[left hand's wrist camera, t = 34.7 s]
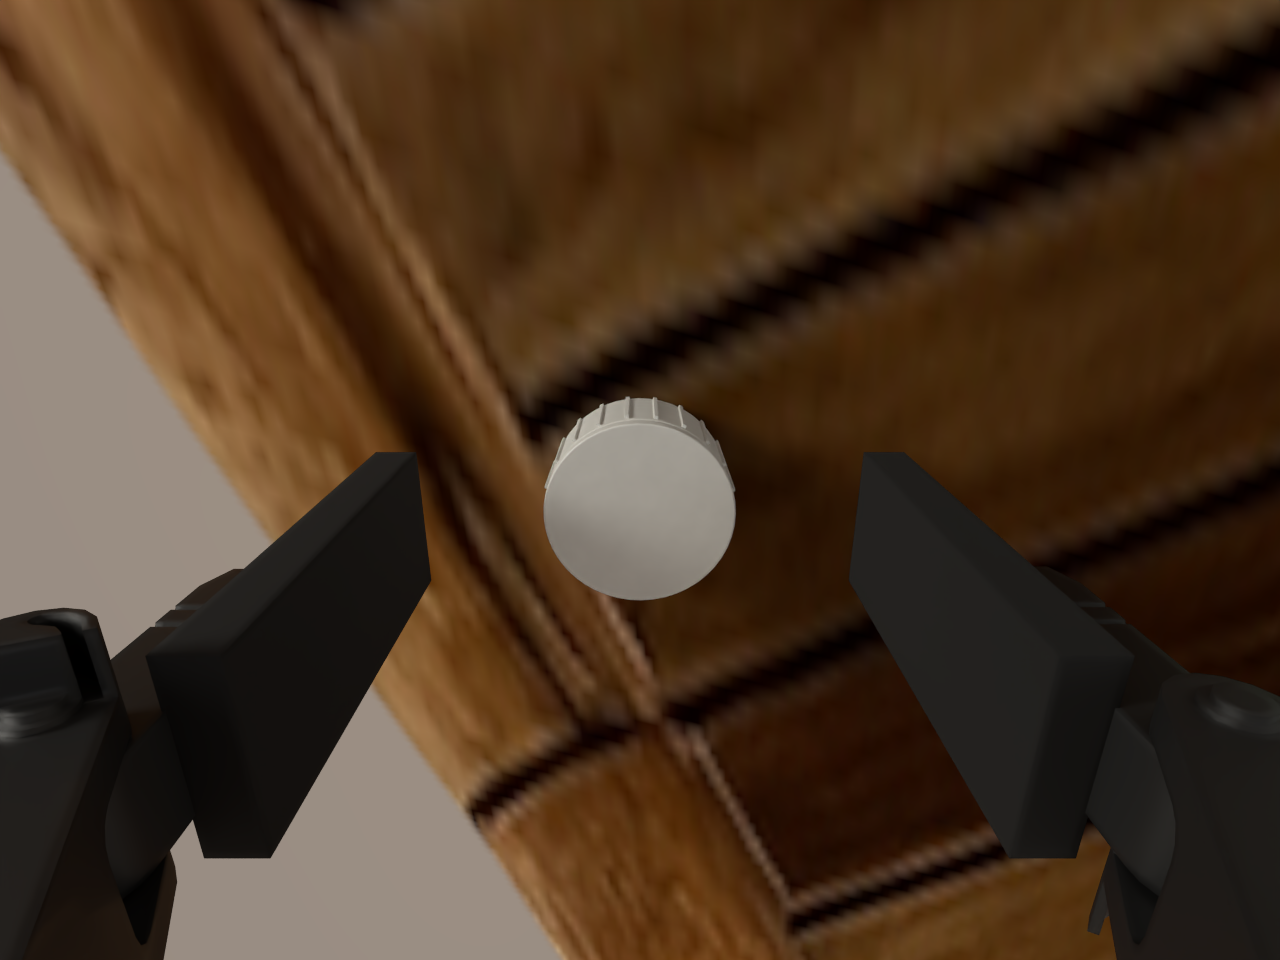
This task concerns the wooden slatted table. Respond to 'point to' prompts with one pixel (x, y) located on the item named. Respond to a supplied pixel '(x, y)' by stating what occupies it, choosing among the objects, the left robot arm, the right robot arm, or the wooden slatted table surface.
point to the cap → (639, 500)
